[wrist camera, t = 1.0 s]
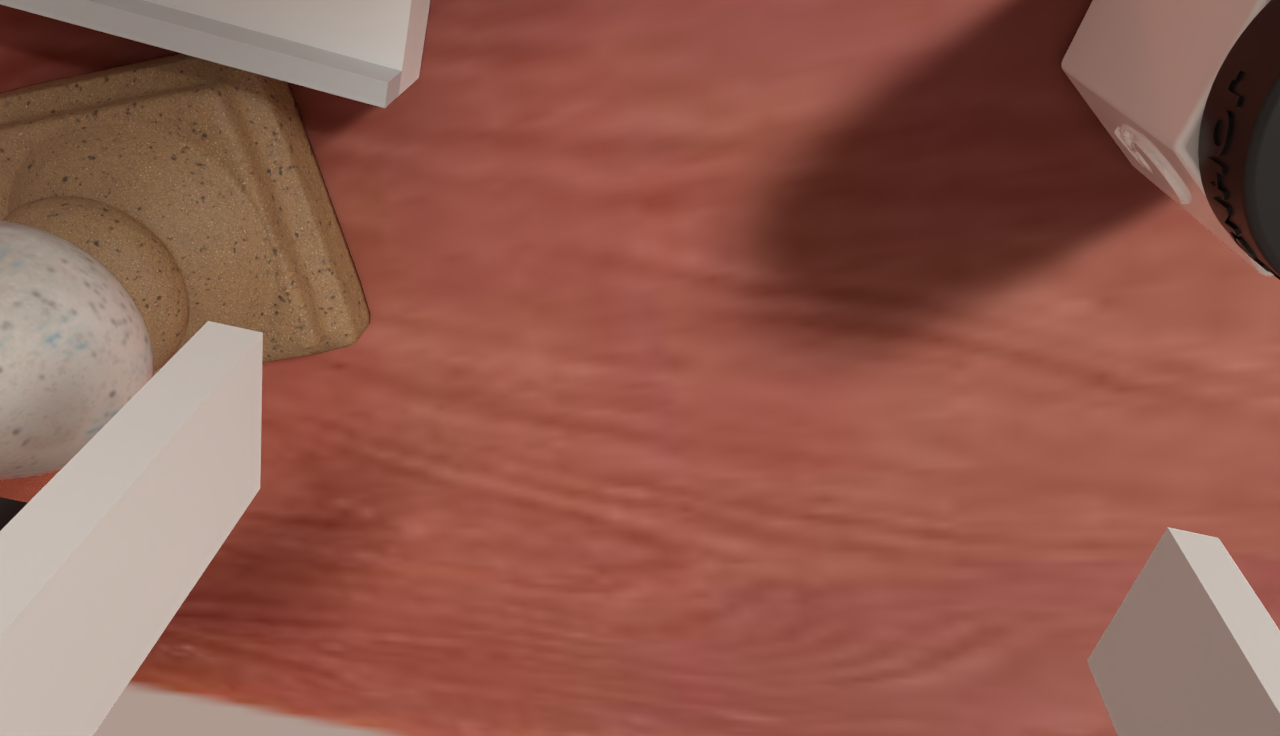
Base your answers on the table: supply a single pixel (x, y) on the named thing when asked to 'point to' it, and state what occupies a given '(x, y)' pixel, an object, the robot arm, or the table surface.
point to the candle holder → (153, 240)
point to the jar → (1193, 107)
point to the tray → (273, 37)
